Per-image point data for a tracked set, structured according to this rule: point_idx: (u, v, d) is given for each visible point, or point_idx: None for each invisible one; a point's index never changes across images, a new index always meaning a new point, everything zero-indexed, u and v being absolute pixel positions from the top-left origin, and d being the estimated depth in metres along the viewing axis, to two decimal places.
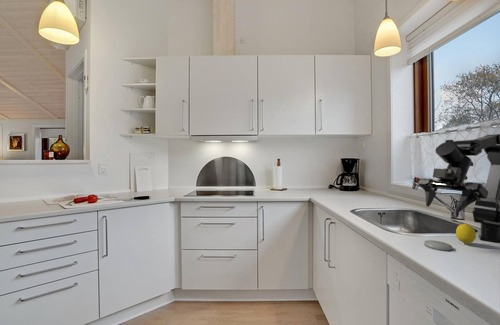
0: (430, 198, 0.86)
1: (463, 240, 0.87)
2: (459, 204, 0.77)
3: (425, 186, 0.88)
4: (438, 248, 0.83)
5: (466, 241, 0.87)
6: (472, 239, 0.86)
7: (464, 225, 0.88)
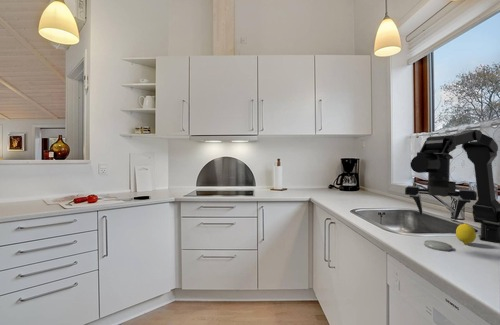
0: (421, 206, 0.84)
1: (463, 240, 0.87)
2: (457, 213, 0.77)
3: (415, 197, 0.83)
4: (438, 248, 0.83)
5: (466, 241, 0.87)
6: (472, 239, 0.86)
7: (464, 225, 0.88)
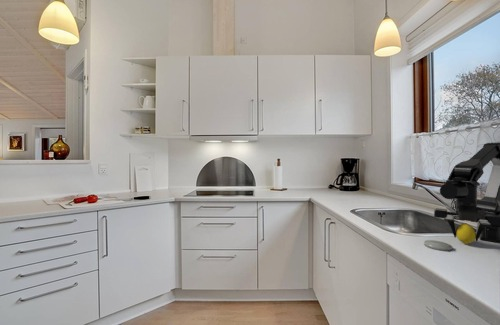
0: None
1: (463, 240, 0.87)
2: (477, 235, 0.85)
3: (450, 221, 0.89)
4: (438, 248, 0.83)
5: (466, 241, 0.87)
6: (472, 239, 0.86)
7: (464, 225, 0.88)
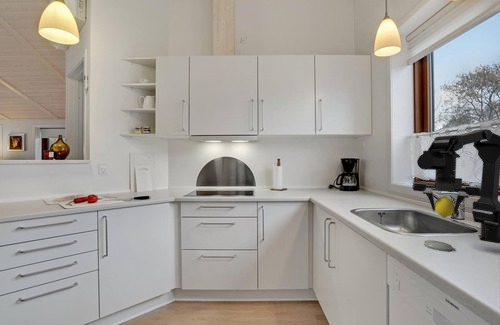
0: None
1: (441, 213, 0.85)
2: (456, 207, 0.83)
3: (429, 194, 0.87)
4: (438, 248, 0.83)
5: (444, 214, 0.84)
6: (450, 212, 0.83)
7: (443, 198, 0.85)
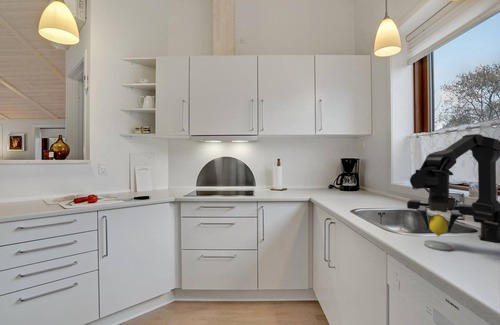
0: (428, 220, 0.88)
1: (435, 231, 0.85)
2: (450, 226, 0.83)
3: (422, 212, 0.86)
4: (438, 248, 0.83)
5: (438, 232, 0.84)
6: (444, 230, 0.83)
7: (437, 216, 0.85)
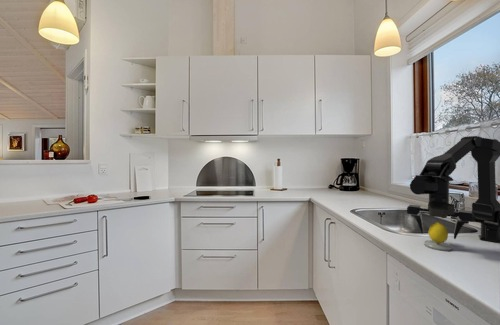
0: (422, 224, 0.89)
1: (435, 240, 0.85)
2: (456, 233, 0.82)
3: (417, 216, 0.87)
4: (438, 248, 0.83)
5: (438, 241, 0.84)
6: (444, 239, 0.83)
7: (436, 224, 0.85)
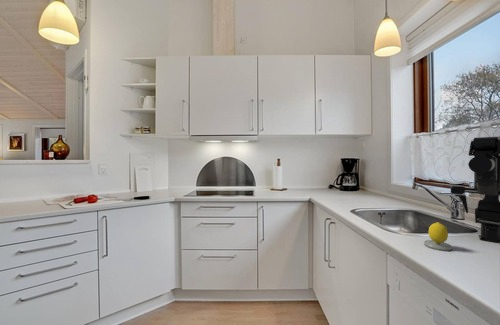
0: None
1: (435, 240, 0.85)
2: None
3: (462, 196, 0.86)
4: (438, 248, 0.83)
5: (438, 241, 0.84)
6: (444, 239, 0.83)
7: (436, 224, 0.85)
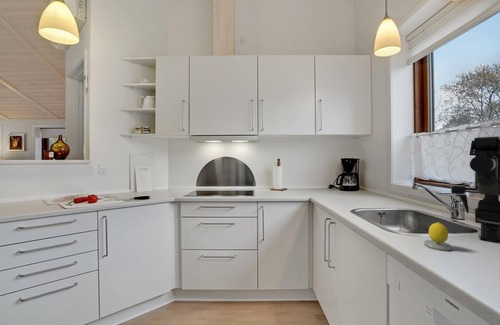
0: (467, 204, 0.87)
1: (435, 240, 0.85)
2: None
3: (462, 196, 0.86)
4: (438, 248, 0.83)
5: (438, 241, 0.84)
6: (444, 239, 0.83)
7: (436, 224, 0.85)
